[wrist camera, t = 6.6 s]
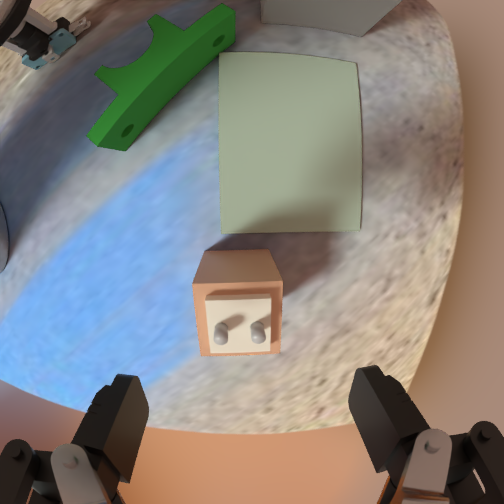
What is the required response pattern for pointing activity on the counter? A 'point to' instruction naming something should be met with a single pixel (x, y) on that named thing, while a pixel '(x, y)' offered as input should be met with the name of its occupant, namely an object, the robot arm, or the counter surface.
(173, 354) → the counter surface
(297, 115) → the pad
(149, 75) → the pipe clamp
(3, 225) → the robot arm
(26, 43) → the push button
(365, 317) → the counter surface
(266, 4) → the box
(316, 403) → the counter surface
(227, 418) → the counter surface
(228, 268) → the block
